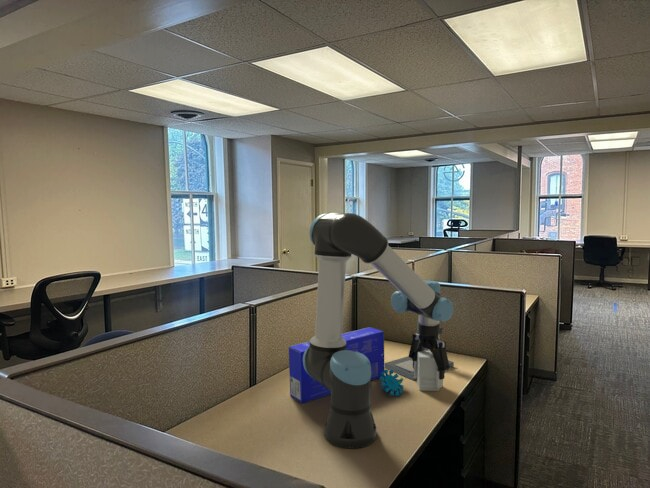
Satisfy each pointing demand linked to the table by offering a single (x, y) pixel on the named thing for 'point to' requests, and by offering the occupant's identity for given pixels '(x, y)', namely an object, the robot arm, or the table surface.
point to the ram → (440, 331)
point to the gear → (391, 383)
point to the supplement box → (426, 371)
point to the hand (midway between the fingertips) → (427, 382)
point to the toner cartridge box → (356, 341)
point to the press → (406, 364)
